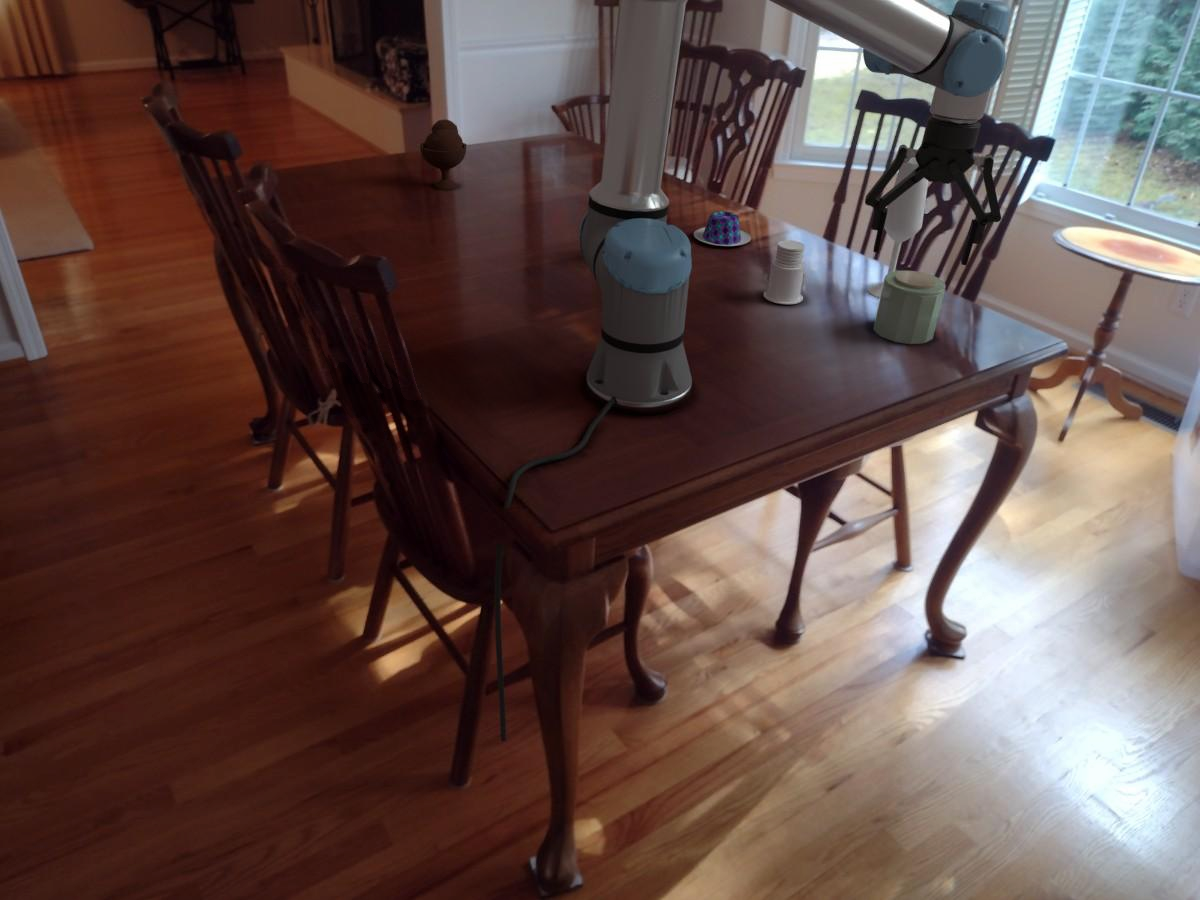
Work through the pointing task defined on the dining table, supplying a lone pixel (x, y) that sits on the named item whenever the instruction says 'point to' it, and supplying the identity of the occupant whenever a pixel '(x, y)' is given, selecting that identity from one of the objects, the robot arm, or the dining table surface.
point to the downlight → (786, 274)
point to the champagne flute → (904, 215)
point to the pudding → (722, 230)
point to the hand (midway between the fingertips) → (919, 256)
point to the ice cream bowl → (444, 151)
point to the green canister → (909, 307)
